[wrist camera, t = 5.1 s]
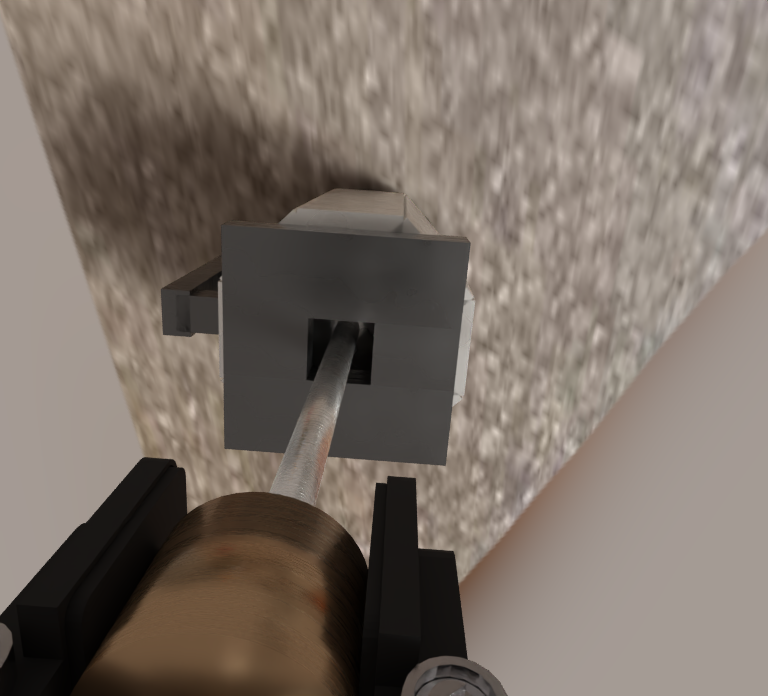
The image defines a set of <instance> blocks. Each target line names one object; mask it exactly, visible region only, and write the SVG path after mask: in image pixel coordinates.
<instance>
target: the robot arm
mask: <svg viewBox="0 0 768 696" xmlns="http://www.w3.org/2000/svg"><path fill="white" fill-rule="evenodd" d="M185 515H187V497H186V474H185V470H184V468H179V467H177V465H176V462H175V461H174V460H173V459H161V458H148V457H144V458H142V459H141V460H140V461H139V462H138V463H137V465H135V467H134V468H133V469H132V470H131V471H130V472H129V474H128V475H127V476H126V477H125V478H124V479H123V481H122V482H121V483H120V484H119V485H118V486H117V488H116V489H115V490H114V491H113V492H112V493H111V495H110V496H109V497H108V498H107V499H106V500H105V502H104V503H103V504H102V505H101V506H100V507H99V509H98V510H97V511H96V512H95V513H94V514H93V515H92V517H91V518H90V519H89V520H88V521H87V522H86V523H83V524H81V525H80V526H79V527H78V528H76V529H75V531H74V532H73V533H72V534H71V535H70V536H69V537H68V539H67V540H66V541H65V542H64V543H63V544H62V545H61V547H60V548H59V549H58V550H57V551H56V552H55V553H54V555H53V556H52V557H51V558H50V559H49V560H48V561H47V563H46V564H45V565H44V566H43V567H42V568H41V569H40V571H39V572H38V573H37V574H36V575H35V576H34V577H33V579H32V580H31V581H30V582H29V583H28V584H27V586H26V587H25V588H24V589H23V590H22V591H21V592H20V594H19V595H18V596H17V597H16V598H15V599H14V600H13V601H12V603H11V604H10V605H9V606H8V607H7V608H6V610H5V611H4V612H3V613H2V614H1V615H0V696H70V695H71V693H72V691H73V689H74V687H75V685H76V684H77V682H78V681H79V679H80V677H81V676H82V674H83V673H84V671H85V669H86V668H87V666H88V664H89V663H90V661H91V660H92V658H93V656H94V655H95V653H96V651H97V650H98V648H99V647H100V645H101V643H102V642H103V640H104V639H105V637H106V635H107V634H108V632H109V630H110V629H111V627H112V626H113V624H114V622H115V621H116V619H117V618H118V616H119V614H120V613H121V611H122V609H123V608H124V606H125V605H126V603H127V601H128V600H129V598H130V597H131V595H132V593H133V592H134V590H135V588H136V587H137V585H138V584H139V582H140V580H141V579H142V577H143V575H144V574H145V572H146V571H147V569H148V567H149V566H150V564H151V563H152V561H153V559H154V558H155V556H156V554H157V553H158V551H159V550H160V548H161V546H162V545H163V543H164V542H165V540H166V538H167V537H168V535H169V533H170V532H171V531H172V529H173V528H174V527H175V526H176V524H177V523H178V522H179V521H180V520H181V519H182V518H183V517H184V516H185ZM358 696H508V695H507V694H506V692H505V690H504V688H503V686H502V685H501V683H500V681H499V680H498V679H497V678H496V677H495V676H494V675H493V674H492V673H491V672H490V671H489V670H487V669H485V668H484V667H482V666H481V665H479V664H477V663H476V662H473V661H470V660H468V658H467V650H466V643H465V633H464V625H463V617H462V609H461V601H460V594H459V585H458V577H457V569H456V561H455V555H454V552H453V551H445V550H432V549H420V548H418V529H417V499H416V478H407V477H394V476H388V478H387V484H386V483H376V489H375V500H374V512H373V523H372V534H371V546H370V557H369V568H368V579H367V591H366V602H365V613H364V625H363V638H362V651H361V665H360V679H359V693H358Z"/></svg>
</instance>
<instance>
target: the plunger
mask: <svg viewBox="0 0 768 696" xmlns="http://www.w3.org/2000/svg"><path fill="white" fill-rule="evenodd" d="M374 326H375V323H366V322H353V321H340V320H326V319H314V328H313V358H312V367H319V369H318V371H317V374H316V376H315V379H314V381H313V384H312V386H311V389H310V391H309V394H308V396H307V399H306V401H305V404H304V407H303V409H302V412H301V414H300V417H299V419H298V422H297V424H296V427H295V429H294V432H293V434H292V437H291V439H290V442H289V444H288V447H287V449H286V452H285V454H284V457H283V459H282V462H281V464H280V467H279V469H278V472H277V474H276V477H275V479H274V482H273V484H272V487H271V489H270V492H269V493H266V492H245V493H235V494H231V495H226V496H222V497H219V498H216V499H213V500H210V501H208V502H206V503H204V504H202V505H200V506H198V507H197V508H195V509H194V510H192V511H191V512H189V513H188V514H187V515H185V516H184V517H183V518H182V519H181V520H180V521H179V522H178V523H177V524H176V526H175V527H174V528H173V529H172V531H171V532H170V533H169V535H168V537H167V538H166V540H165V542H164V543H163V545H162V546H161V548H160V550H159V551H158V553H157V554H156V556H155V558H154V559H153V561H152V563H151V564H150V566H149V567H148V569H147V571H146V572H145V574H144V575H143V577H142V579H141V580H140V582H139V584H138V585H137V587H136V588H135V590H134V592H133V593H132V595H131V597H130V598H129V600H128V601H127V603H126V605H125V606H124V608H123V609H122V611H121V613H120V614H119V616H118V618H117V619H116V621H115V622H114V624H113V626H112V627H111V629H110V630H109V632H108V634H107V635H106V637H105V639H104V640H103V642H102V643H101V645H100V647H99V648H98V650H97V651H96V653H95V655H94V656H93V658H92V660H91V661H90V663H89V664H88V666H87V668H86V669H85V671H84V673H83V674H82V676H81V677H80V679H79V681H78V682H77V684H76V685H75V687H74V689H73V691H72V693H71V695H70V696H358V693H359V679H360V665H361V651H362V638H363V625H364V613H365V602H366V591H367V579H368V568H367V565H366V561H365V559H364V557H363V555H362V553H361V551H360V548H359V547H358V545H357V544H356V542H355V541H354V539H353V538H352V537H351V535H350V534H349V533H348V532H347V531H346V530H345V529H344V528H343V527H342V526H341V525H340V524H339V523H338V522H337V521H335V520H334V519H333V518H332V517H330V516H329V515H327V514H326V513H325V512H323V511H322V510H320V509H318V508H316V507H315V504H316V500H317V496H318V492H319V488H320V484H321V480H322V476H323V472H324V468H325V464H326V460H327V456H328V452H329V449H330V445H331V441H332V437H333V433H334V429H335V425H336V421H337V417H338V413H339V409H340V405H341V401H342V397H343V394H344V390H345V386H346V382H347V378H348V374H349V370H362V371H372V357H373V342H374Z"/></svg>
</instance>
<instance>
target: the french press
mask: <svg viewBox="0 0 768 696" xmlns="http://www.w3.org/2000/svg"><path fill="white" fill-rule="evenodd" d="M221 240H222V255H221V256H219V257H217V258H215V259H214V260H212V261H210V262H208V263H207V264H205V265H203V266H201V267H199V268H198V269H196V270H194V271H192V272H190V273H189V274H187V275H185V276H183V277H181V278H180V279H178V280H176V281H174V282H172V283H171V284H169V285H167V286H165V287H164V288H162V289H161V302H162V323H163V335H173V336H186V337H191V336H193V335H194V334H195V333H206V334H219V375H220V377H221V378H223V379H222V380H221V381H222V382H223V383H224V441H225V449H236V450H249V451H262V452H275V453H285V452H286V449H287V447H288V444H289V442H290V439H291V437H292V434H293V432H294V429H295V427H296V424H297V422H298V419H299V417H300V414H301V412H302V409H303V407H304V404H305V401H306V399H307V396H308V394H309V391H310V389H311V386H312V384H313V381H314V379H315V376H316V374H317V371H318V369H319V367H312V358H313V328H314V319H326V320H340V321H353V322H366V323H375V326H374V342H373V357H372V371H362V370H349V374H348V378H347V382H346V386H345V390H344V394H343V397H342V401H341V405H340V409H339V413H338V417H337V421H336V425H335V429H334V433H333V437H332V441H331V445H330V449H329V452H328V456H327V457H339V458H352V459H365V460H378V461H391V462H404V463H417V464H430V465H443V466H446V457H447V448H448V439H449V430H450V421H451V413H452V406H454V405H455V404H456V403H458V402H459V401H460V400H462V396H464V392H465V383H466V375H467V367H468V358H469V350H470V341H471V333H472V324H473V316H474V307H475V299H474V296H473V294H472V292H471V289H470V287H469V285H468V283H467V281H466V279H467V270H468V261H469V252H470V242H469V240H468V239H467V237H457V236H443V235H440V234H439V233H438V232H437V230H436V229H435V228H434V227H433V225H432V224H431V223H430V221H429V220H428V219H427V218H426V217H425V216H424V214H423V213H422V212H421V211H420V210H419V209H418V208H417V207H416V205H415V204H414V203H413V202H412V201H411V199H410V198H409V197H408V196H407V195H405V196H404V193H395V192H383V191H377V190H353V189H339V188H335V189H332V190H331V191H329V192H327V193H325V194H323V195H321V196H319V197H317V198H315V199H313V200H311V201H309V202H307V203H305V204H303V205H301V206H299V207H297V208H295V209H293V210H292V211H291V212H290V213H289V214H288V215H287V216H286V217H285V218H283V219H282V220H281V221H280V222H279V223H266V222H252V221H238V220H232V221H229V222H227V223H224V224H222V225H221Z"/></svg>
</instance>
